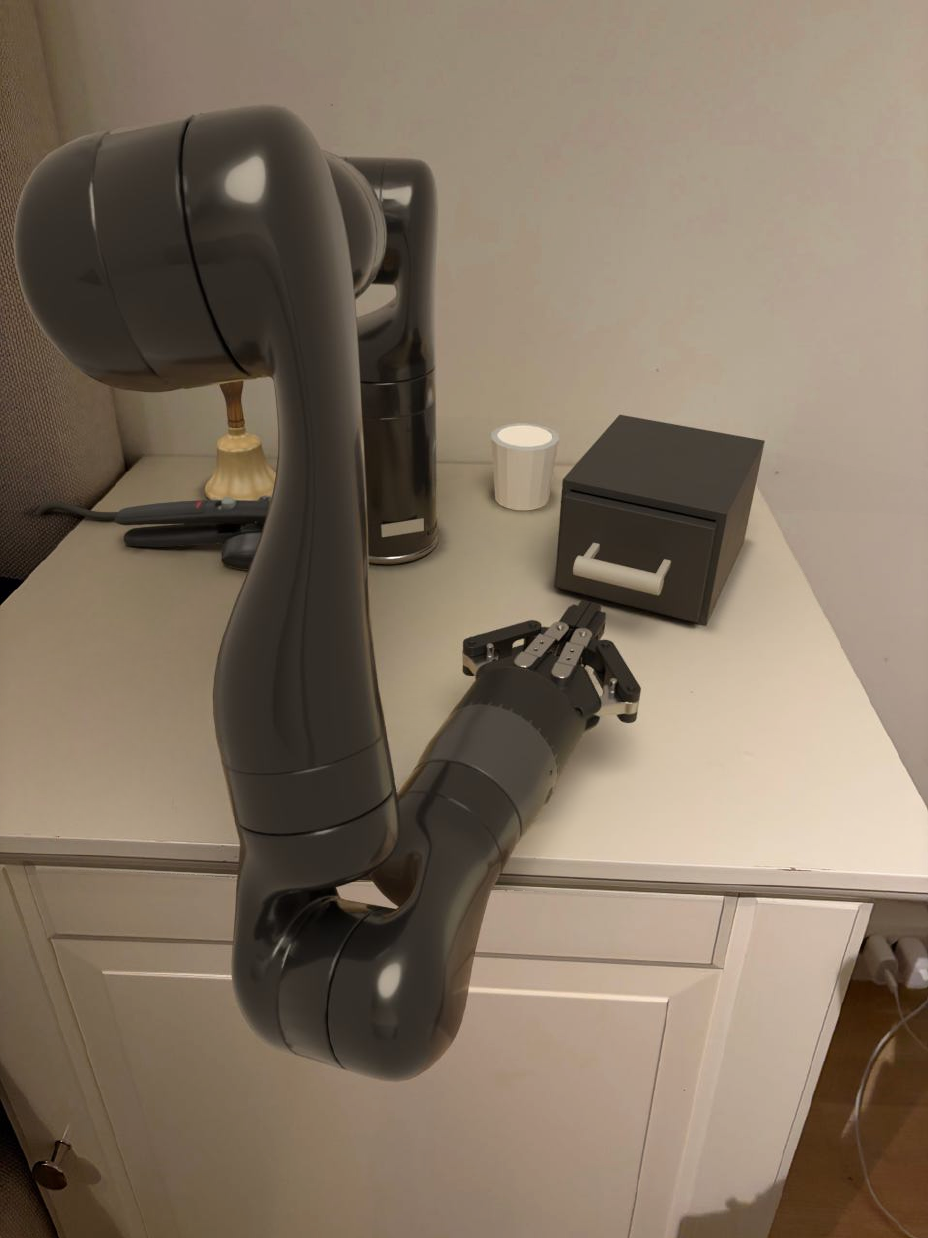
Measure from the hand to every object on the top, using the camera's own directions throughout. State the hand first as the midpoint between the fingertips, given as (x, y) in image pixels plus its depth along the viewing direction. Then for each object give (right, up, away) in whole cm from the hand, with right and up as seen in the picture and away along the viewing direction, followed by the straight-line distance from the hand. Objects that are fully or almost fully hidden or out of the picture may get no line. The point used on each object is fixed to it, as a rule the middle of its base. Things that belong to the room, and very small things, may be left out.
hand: (590, 612), depth 68 cm
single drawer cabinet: (+8, +5, +18) cm, 21 cm away
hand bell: (-32, +13, +30) cm, 46 cm away
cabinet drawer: (+7, +3, +15) cm, 17 cm away
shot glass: (-3, +12, +29) cm, 32 cm away
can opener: (-33, +6, +20) cm, 39 cm away
